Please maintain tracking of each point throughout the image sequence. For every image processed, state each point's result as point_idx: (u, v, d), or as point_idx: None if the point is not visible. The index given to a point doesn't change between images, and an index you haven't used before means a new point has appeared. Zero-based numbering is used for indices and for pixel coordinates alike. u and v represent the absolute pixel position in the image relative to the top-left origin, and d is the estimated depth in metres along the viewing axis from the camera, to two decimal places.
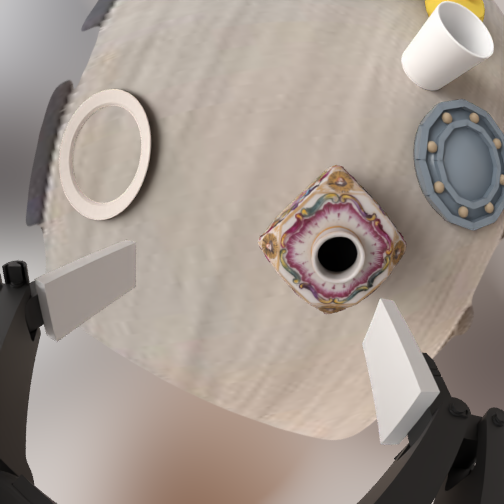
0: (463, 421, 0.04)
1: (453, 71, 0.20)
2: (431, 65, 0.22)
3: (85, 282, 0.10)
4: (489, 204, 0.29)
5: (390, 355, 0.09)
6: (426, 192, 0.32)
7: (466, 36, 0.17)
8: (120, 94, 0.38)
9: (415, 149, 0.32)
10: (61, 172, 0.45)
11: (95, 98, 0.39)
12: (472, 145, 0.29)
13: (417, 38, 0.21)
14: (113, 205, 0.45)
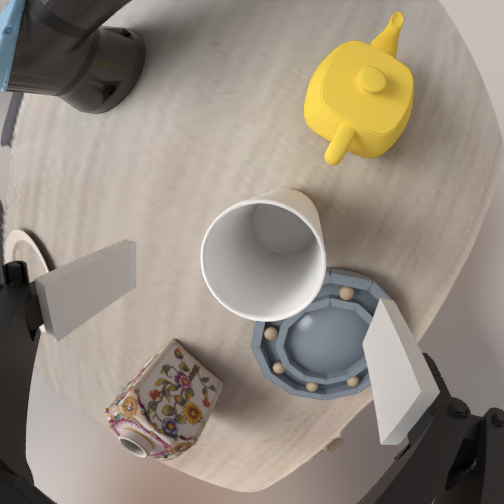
0: (463, 421, 0.04)
1: None
2: None
3: (85, 282, 0.10)
4: (350, 380, 0.33)
5: (390, 355, 0.09)
6: (262, 371, 0.36)
7: (315, 217, 0.21)
8: (29, 238, 0.42)
9: None
10: None
11: (16, 234, 0.43)
12: (339, 321, 0.33)
13: None
14: None
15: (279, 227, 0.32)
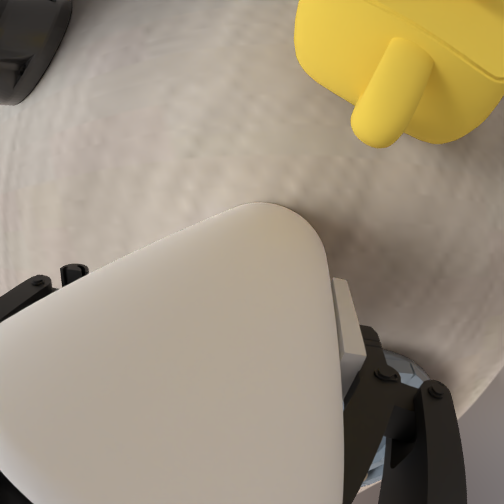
0: (393, 385, 0.06)
1: None
2: None
3: None
4: None
5: None
6: None
7: (322, 336, 0.05)
8: None
9: None
10: None
11: None
12: None
13: None
14: None
15: None
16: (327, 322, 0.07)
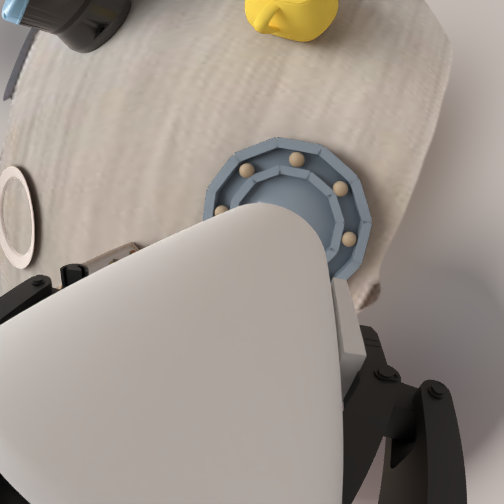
0: (393, 385, 0.06)
1: None
2: None
3: None
4: None
5: None
6: None
7: (323, 339, 0.05)
8: (18, 171, 0.41)
9: None
10: None
11: (7, 172, 0.42)
12: (294, 197, 0.32)
13: None
14: (24, 258, 0.48)
15: None
16: (327, 324, 0.06)
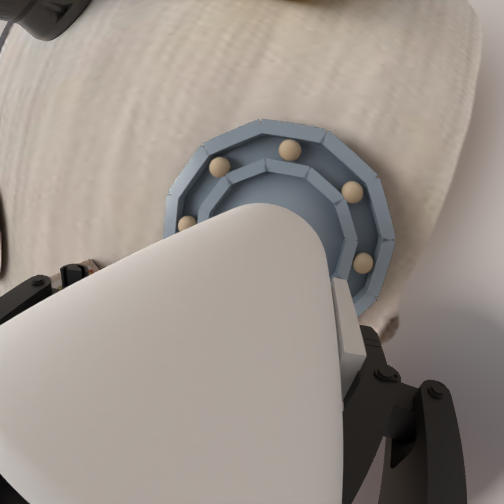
0: (393, 385, 0.06)
1: None
2: None
3: None
4: None
5: None
6: None
7: (322, 339, 0.05)
8: None
9: None
10: None
11: None
12: (287, 204, 0.23)
13: None
14: None
15: None
16: (327, 324, 0.06)
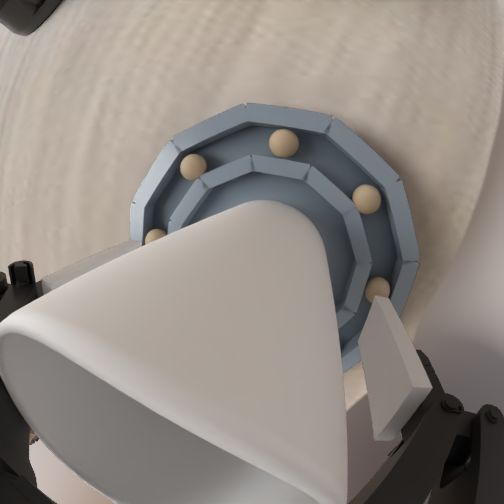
0: (456, 417, 0.05)
1: None
2: None
3: None
4: None
5: (384, 351, 0.09)
6: None
7: (323, 302, 0.07)
8: None
9: None
10: None
11: None
12: None
13: None
14: None
15: None
16: (326, 294, 0.08)
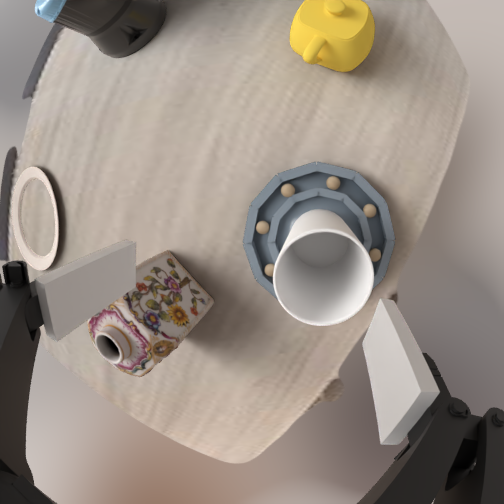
0: (463, 421, 0.04)
1: None
2: None
3: (85, 282, 0.10)
4: None
5: (390, 355, 0.09)
6: (254, 275, 0.38)
7: None
8: (40, 172, 0.45)
9: None
10: (14, 227, 0.51)
11: (27, 172, 0.46)
12: None
13: None
14: (44, 260, 0.51)
15: (315, 243, 0.35)
16: None
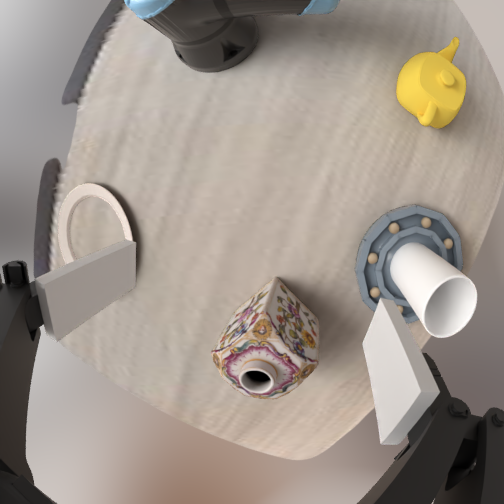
0: (463, 421, 0.04)
1: None
2: None
3: (85, 282, 0.10)
4: None
5: (390, 355, 0.09)
6: (361, 297, 0.42)
7: None
8: (102, 190, 0.48)
9: (357, 259, 0.42)
10: (61, 248, 0.55)
11: (82, 188, 0.49)
12: None
13: (406, 279, 0.33)
14: None
15: None
16: None
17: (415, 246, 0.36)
